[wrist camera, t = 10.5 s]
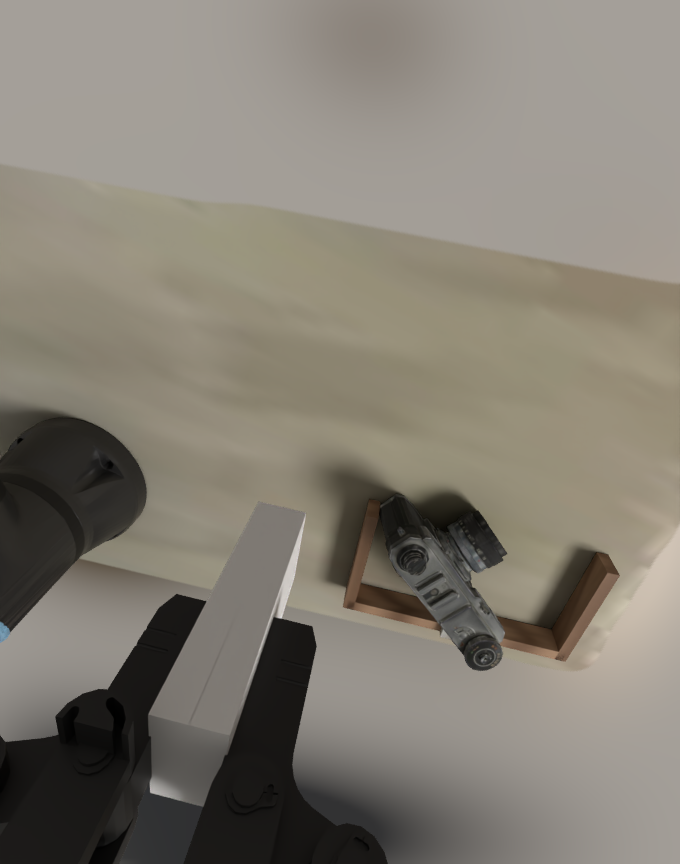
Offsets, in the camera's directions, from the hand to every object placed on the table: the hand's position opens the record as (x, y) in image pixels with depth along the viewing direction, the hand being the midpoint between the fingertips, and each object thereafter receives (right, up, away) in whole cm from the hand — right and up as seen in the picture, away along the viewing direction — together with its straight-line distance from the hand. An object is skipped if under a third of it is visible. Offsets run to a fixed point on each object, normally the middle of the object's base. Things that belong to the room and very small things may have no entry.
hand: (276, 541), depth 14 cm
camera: (+14, -8, +35) cm, 39 cm away
